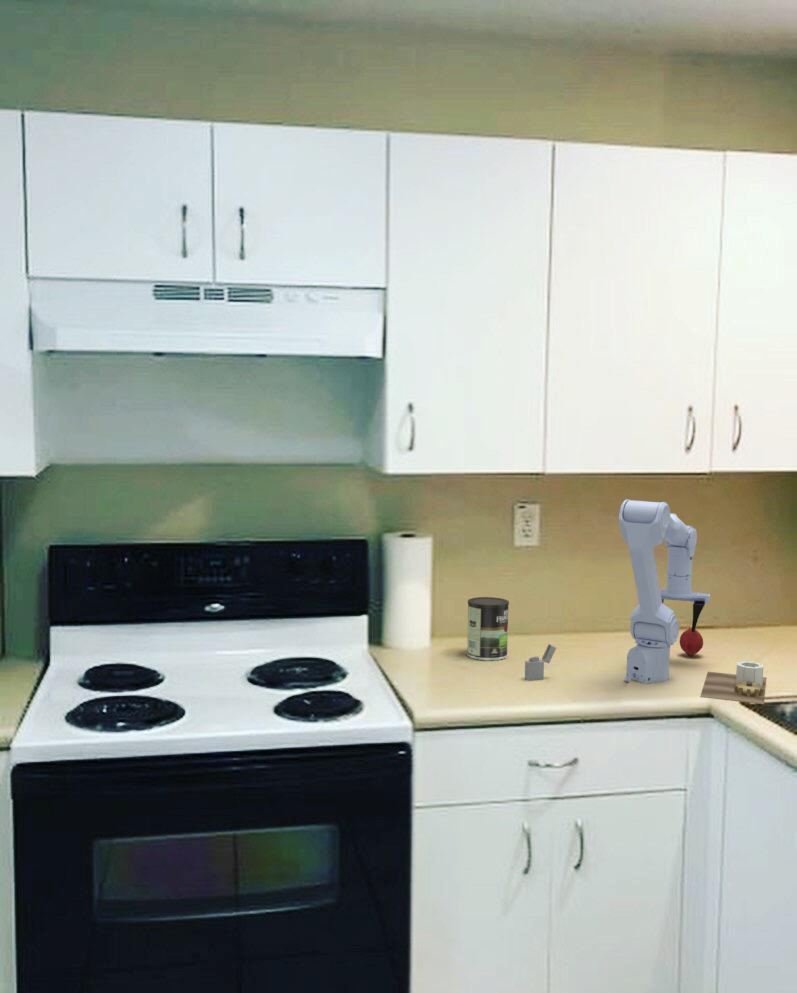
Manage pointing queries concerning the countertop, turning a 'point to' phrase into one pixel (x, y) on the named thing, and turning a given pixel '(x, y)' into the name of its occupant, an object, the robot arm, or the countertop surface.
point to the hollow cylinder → (749, 672)
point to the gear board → (732, 688)
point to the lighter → (538, 665)
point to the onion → (691, 641)
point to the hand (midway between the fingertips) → (677, 629)
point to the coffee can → (487, 628)
